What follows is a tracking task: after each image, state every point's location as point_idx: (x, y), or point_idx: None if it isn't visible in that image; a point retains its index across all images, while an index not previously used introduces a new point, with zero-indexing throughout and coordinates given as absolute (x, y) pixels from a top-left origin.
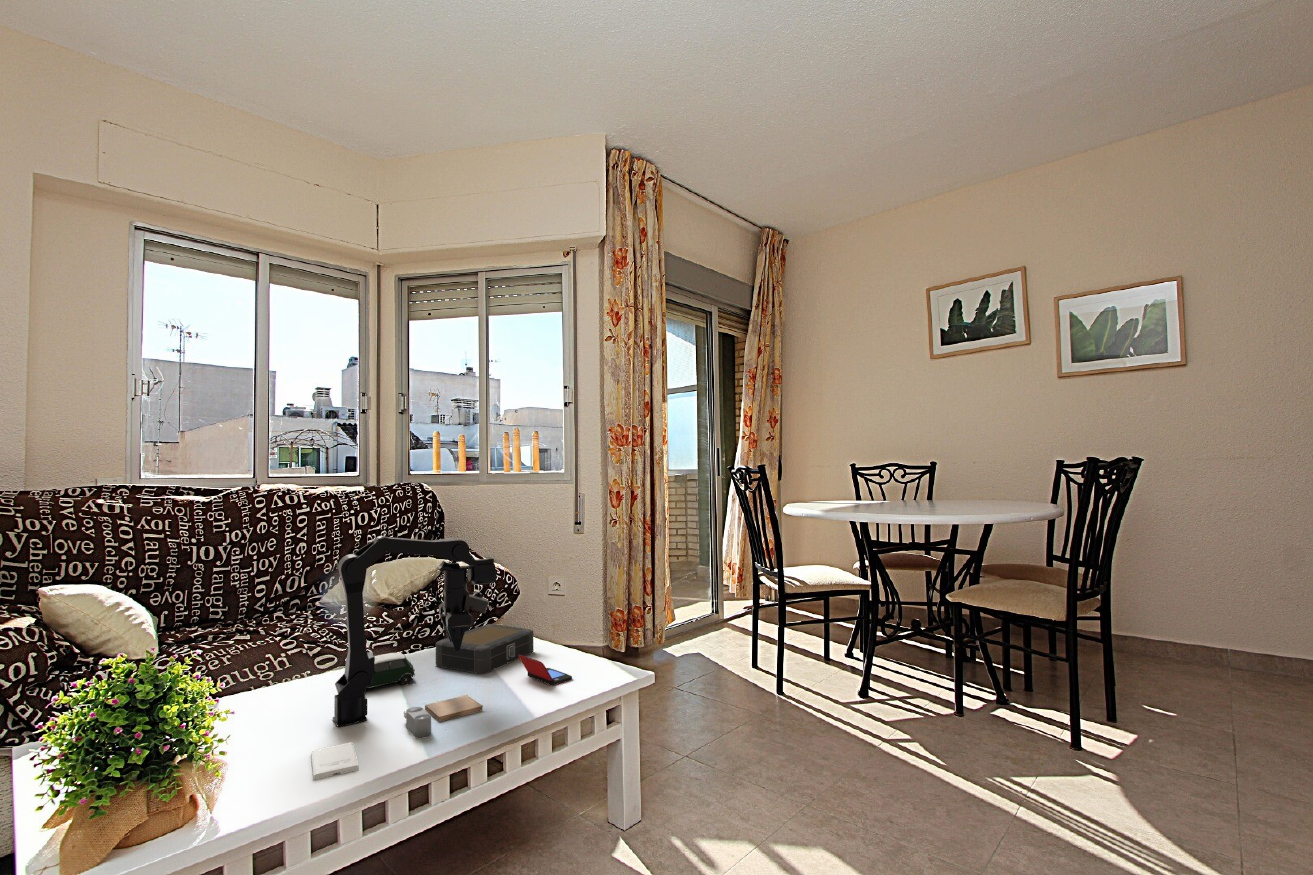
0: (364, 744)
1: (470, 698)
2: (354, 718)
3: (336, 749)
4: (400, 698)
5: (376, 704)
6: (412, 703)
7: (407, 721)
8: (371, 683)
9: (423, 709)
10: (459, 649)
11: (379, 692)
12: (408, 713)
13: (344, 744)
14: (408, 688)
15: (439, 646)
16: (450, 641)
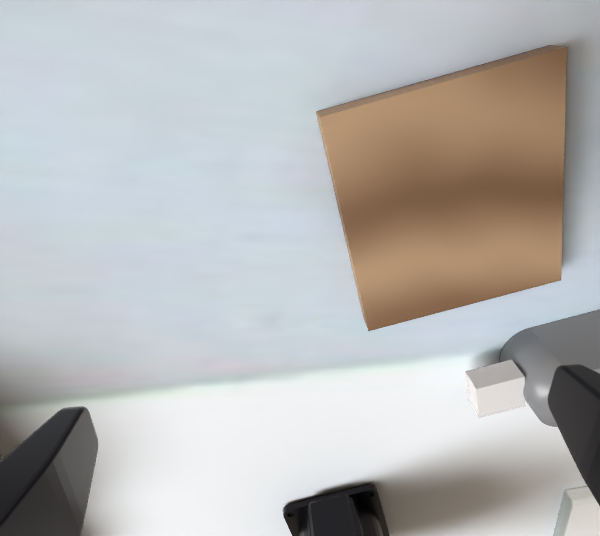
0: (571, 468)
1: (398, 105)
2: (379, 522)
3: (594, 526)
4: (163, 405)
5: (207, 472)
6: (253, 362)
7: None
8: None
9: (598, 370)
10: (589, 374)
11: None
12: None
13: (575, 516)
14: (18, 382)
15: None
16: (95, 453)
